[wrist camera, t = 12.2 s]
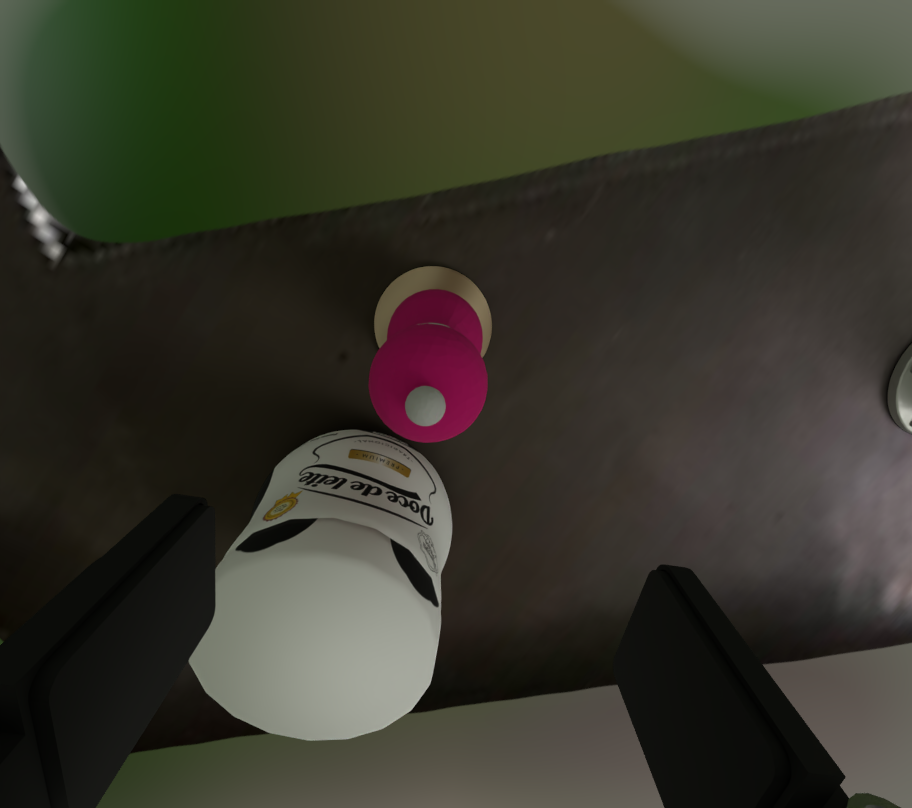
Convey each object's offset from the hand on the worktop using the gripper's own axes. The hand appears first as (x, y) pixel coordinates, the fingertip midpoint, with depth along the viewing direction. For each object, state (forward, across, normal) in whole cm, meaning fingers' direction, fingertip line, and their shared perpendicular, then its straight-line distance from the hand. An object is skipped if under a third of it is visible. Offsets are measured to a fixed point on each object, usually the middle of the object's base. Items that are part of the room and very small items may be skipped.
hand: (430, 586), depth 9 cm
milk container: (+31, +5, +18) cm, 36 cm away
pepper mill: (+30, +1, 0) cm, 30 cm away
